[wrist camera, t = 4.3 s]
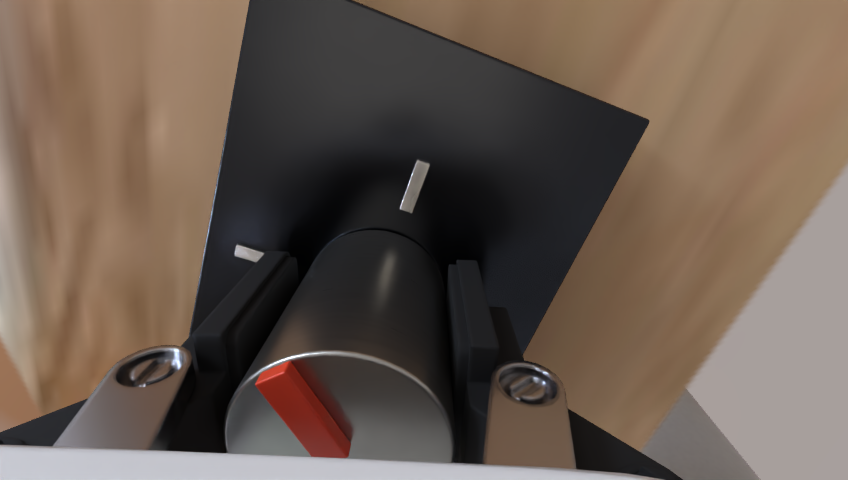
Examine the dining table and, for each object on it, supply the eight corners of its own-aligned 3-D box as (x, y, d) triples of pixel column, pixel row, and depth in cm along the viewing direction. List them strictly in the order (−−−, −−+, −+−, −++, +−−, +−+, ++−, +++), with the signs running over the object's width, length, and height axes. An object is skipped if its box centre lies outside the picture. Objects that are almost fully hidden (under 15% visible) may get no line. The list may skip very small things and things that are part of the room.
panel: (445, 427, 18) (449, 495, 15) (214, 361, 17) (170, 422, 14) (604, 110, 13) (655, 121, 10) (295, -14, 12) (252, -41, 9)
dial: (466, 319, 13) (494, 504, 7) (351, 367, 13) (298, 568, 8) (405, 205, 11) (385, 326, 6) (280, 264, 12) (160, 420, 7)
